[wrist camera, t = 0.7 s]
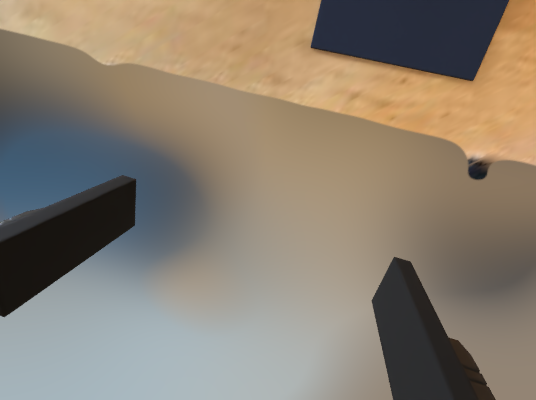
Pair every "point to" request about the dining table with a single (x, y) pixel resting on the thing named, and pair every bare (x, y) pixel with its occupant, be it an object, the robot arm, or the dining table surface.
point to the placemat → (411, 32)
